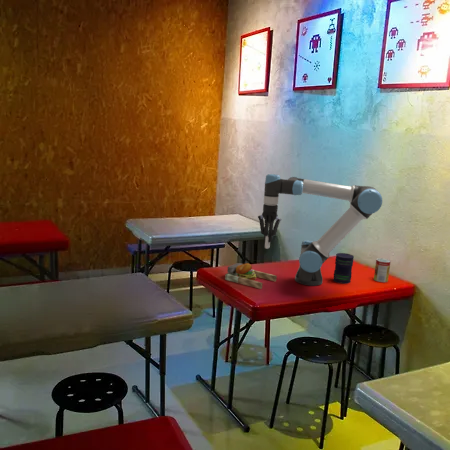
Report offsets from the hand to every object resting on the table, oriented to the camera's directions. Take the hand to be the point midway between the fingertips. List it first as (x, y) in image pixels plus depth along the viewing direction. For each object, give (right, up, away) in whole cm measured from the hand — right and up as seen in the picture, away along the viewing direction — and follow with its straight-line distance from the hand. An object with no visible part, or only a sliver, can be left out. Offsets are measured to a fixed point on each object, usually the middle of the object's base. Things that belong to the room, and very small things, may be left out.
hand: (267, 247), depth 263 cm
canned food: (+68, -20, +24) cm, 75 cm away
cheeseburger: (-11, -18, +10) cm, 23 cm away
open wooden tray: (-8, -18, +8) cm, 22 cm away
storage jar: (+44, -20, +18) cm, 51 cm away
